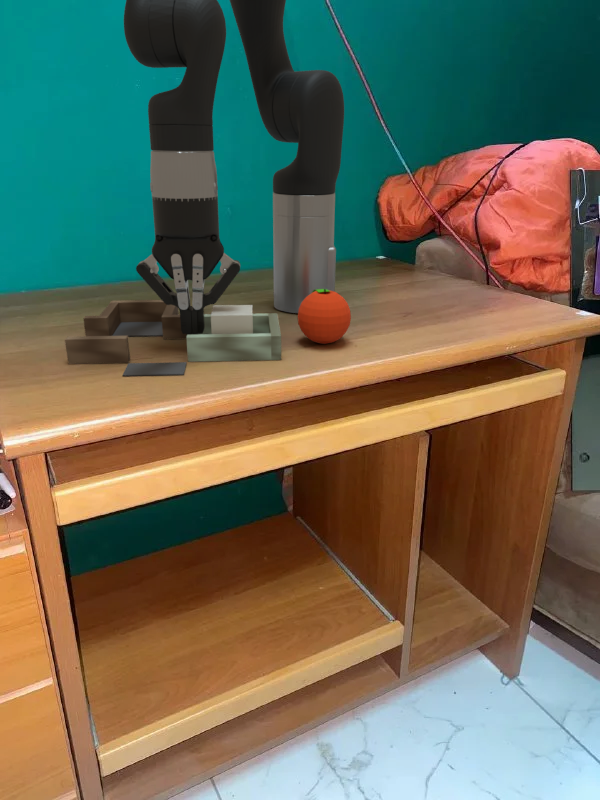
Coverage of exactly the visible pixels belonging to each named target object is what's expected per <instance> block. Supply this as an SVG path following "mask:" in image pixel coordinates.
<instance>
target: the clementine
mask: <svg viewBox="0 0 600 800" xmlns="http://www.w3.org/2000/svg"><path fill="white" fill-rule="evenodd" d="M351 314H352V313H351V309H350V306H349V303H348V302H347V300H346V299H345V298H344V297H343V296H342V295H341V294H339V293H338V292H336V291H335V292H334V291H330V290H327V289H317V290H313V292H312V293H311V294H310V295H308V296H307V297H306V298H305V299H304V300H303V301H302V303H301V305H300V307H299V311H298V313H297V321H298V322H297V323H298V326H299V329H300V331H301V332H302V333H303V334H304V336H305V337H306V338H307V339H309V340H310V341H312V342H314V343H317V344H323V345H325V344H326V345H327V344H332V343H334V342H336V341H338V340H340V339H341V338H343V337H344V335H345V334H346V333H347V331H348V330H349V327H350V326H351V320H352V315H351Z"/></svg>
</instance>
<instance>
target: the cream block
mask: <svg viewBox="0 0 600 800" xmlns="http://www.w3.org/2000/svg"><path fill="white" fill-rule="evenodd" d="M210 314H211V330H212V334H253V314H254V313H253V304H223V305H222V304H216V305H215V304H212V310H211V312H210Z"/></svg>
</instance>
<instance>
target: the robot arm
mask: <svg viewBox="0 0 600 800" xmlns="http://www.w3.org/2000/svg"><path fill="white" fill-rule="evenodd" d="M286 1H287V0H229V3H230V6H231V9H232V12H233V16H234V19H235V22H236V23H235V24H236V26H237V29H238V32H239V36H240V40H241V43H242V45H243V50H244V54H245V57H246V62H247V66H248V70H249V74H250V75H249V76H250V79H251V82H252V87H253V92H254V97H255V101H256V104H257V107H258V108H257V109H258V113H259V116H260V118H261V121H262V124H263V126H264V127H265V129H266V130H267V133H268V134H269V135H270V136H271V137H272V138H273V139H274V140H276V141H279V142H282V143H287V144H288V143H293V144H294V143H295V144H297V149H296V150H297V151H296V156H295V158H294V160H292V162H291V163H289V164H288V165H287V166H285V167H283V168H281V169H278V170H277V171H276V172H275V173H273V177H272V218H273V219H272V220H273V221H272V222H273V223H272V227H273V230H272V231H273V233H272V236H273V238H272V239H273V244H272V245H273V307H274V308H275V309H276V310H278V311H280V312H281V311H282V312H286V313H290V314H291V313H293V314H294V313H295V314H298V311H299V307H300V305H301V303H302V301H303V300H304V299H305V298H306V297H307V296H308V295H310V294H311V293H312V292H313V290H317V289H327V290H330V291H334V292H336V291H335V290H336V264H337V263H336V258H337V257H336V255H337V248H336V247H335V244H334V243H335V208H336V187H337V186H336V184H337V179H338V177H339V174H340V169H341V162H342V149H343V147H342V146H343V138H344V137H343V135H344V124H345V123H344V122H345V99H344V92H343V88H342V85H341V83H340V81H339V79H338V78H337V76H336V75H335V74H333V72H331V71H329V70H324V69H314V70H299V71H295V70H294V69H293V66H292V62H291V60H290V56H289V53H288V49H287V45H286V39H285V34H284V32H285V31H284V15H285V7H286ZM123 31H124V32H123V33H124V37H125V41H126V45H127V47H128V49H129V51H130V53H131V55H132V56H133V57H134V59H135V61H137V62H138V63H139V64H141V65H142V66H144V67H147V68H155V69H157V68H158V69H161V68H162V69H163V68H166V69H167V68H186V69H185V71H184V75H183V77H182V80H181V82H180V84H179V85H178V86H176V87H175V88H172V89H169V90H166V91H161V92H159V93H156V94H154V95H153V96H151V97H150V99H149V101H148V107H147V113H148V114H147V115H148V129H149V141H150V144H149V145H150V183H149V184H150V186H149V187H150V188H149V189H150V191H151V192H150V193H151V199H152V212H153V225H154V243H153V245H152V248H151V254H150V255H149V256H148V257H147V258H145V259H144V260H141V261H140V262H139V263H138V264H137V265H136V267H135V271H136V273H137V274H138V275H139V276H140V277H141V278H142V279H143V280H144V282H145V283H146V284H147V285H148V286H149V287H150V289H151V290H152V291H154V294H156V295H157V296H158V298H159V299H160V300H162V301H163V302H164V303H165V304H167V305H174V306H176V307H178V311H179V315H180V322H181V331H182V333H183V334H187V335H196V334H202V333H203V331H204V327H205V326H204V314H205V309H204V308H205V307H207V306H210V305H215V304H216V303H217V302H218V301H219V299H220V298H221V296H222V295H223V294H224V293H225V292H226V290H227V289H228V287H229V286H230V284H231V283H232V282H233V280H234V279H236V277H237V276H238V274H239V273H240V270H241V262H240V261H239V260H236V259H233V258H231V257H230V255H228V254H226V253H225V248H224V245H223V243H222V242H221V239H220V224H219V221H220V220H219V219H220V218H219V199H218V198H219V196H218V195H219V194H218V190H219V189H218V174H217V171H218V170H217V165H216V161H215V159H216V158H215V152H214V127H213V125H214V124H213V123H214V121H213V114H214V113H213V112H214V106H215V105H214V104H215V103H214V102H215V99H216V98H215V97H216V90H217V84H218V79H219V76H220V75H219V74H220V70H221V65H222V62H223V56H224V53H225V49H226V40H227V26H226V17H225V14H224V11H223V9H222V7H221V4H220V3H219V1H218V0H125V6H124V10H123ZM219 262H220V267H219V271H220V274H221V275H220V276H219V278H218V280H217V281H216V282H215V283H214V285H213V286H212V288H211V289H210V290H209V291H208V292H206V293H205V280H207V279H208V278H209V277H210V276H211V274H212V273H213V272H214V270H215V268H216V267H217V265H218V264H219ZM157 263H158V264H159V265H158V264H157ZM159 266H160V267H161V268H162V269H163V270H164V272H165V273H166V274H167V276H168V277H170V278H171V279H172V280H174V281H173V282H174V287H175V292H174V291H173V289H172V288H171V287H170V286H169V284H167V282H166V281H165V280H164V279H163V278H162V277H161V275H160V274H159V273H158V272H159V270H160V269H159ZM189 281H192V284H191V285H192V299H191V297H190V290H189ZM191 300H192V302H191ZM191 304H192V305H191Z"/></svg>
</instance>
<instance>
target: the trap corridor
mask: <svg viewBox="0 0 600 800" xmlns="http://www.w3.org/2000/svg"><path fill="white" fill-rule="evenodd" d="M83 326H84V334H85V336H84V335H83V336H67V337H66V338H65V339H64V342H65V343H64V344H65V351H66V357H67V363H68V365H81V364H127V365H126V367H125V369H124V371H123V373H122V377H154V376H155V377H157V376H158V377H159V376H184V375H185V371H186V368H187V364H188V363H187V362H195V363H196V362H233V361H234V362H235V361H236V362H237V361H238V362H239V361H240V362H241V361H243V362H244V361H245V362H246V361H282V333H281V327H280V323H279V316H278V312H277V313H274V312H273V313H265V312H264V313H253V334H212V330H211V313H210V314H209V313H204V326H205V327H204V331H203V333H202V334H196V335H187V334H183V333H182V331H181V322H180V310H179V308H178V307H176V306H174V305H167V304H165V303H164V302H163V301H162V300H161V299H143V300H140V299H138V300H137V299H135V300H134V299H131V300H129V299H128V300H126V299H125V300H124V299H123V300H111V301H110V302H109V303H108V304H107V306H105V308H104V309H103V310H102V312H101V314H99V315H85V316H84V317H83ZM130 337H133V338H134V337H138V338H139V337H162V339H163V340H186V352H187V353H186V355H187V361H178V362H177V361H174V362H171V361H170V362H166V361H164V362H130V361H131V356H130V352H131V351H130V345H129V338H130Z"/></svg>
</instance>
